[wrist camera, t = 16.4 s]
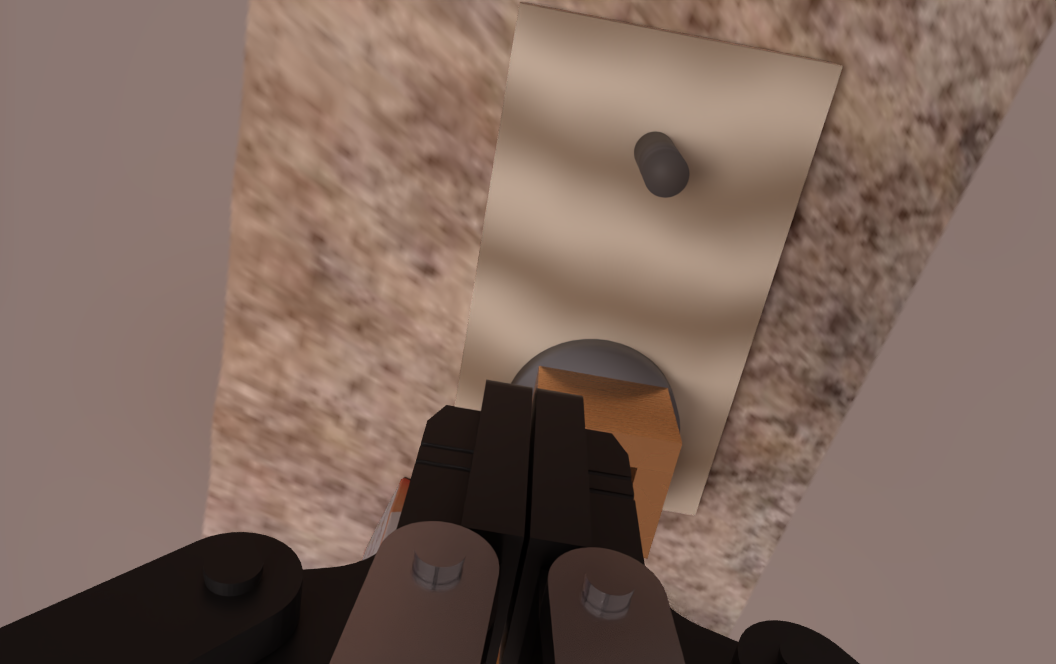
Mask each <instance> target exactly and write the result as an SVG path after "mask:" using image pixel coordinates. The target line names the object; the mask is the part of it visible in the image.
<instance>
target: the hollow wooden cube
mask: <svg viewBox="0 0 1056 664" xmlns="http://www.w3.org/2000/svg"><path fill="white" fill-rule="evenodd" d="M536 388H540V389H546V390H551V391H557V392H563V393H569V394H575V395H580V396H583V399H584V415H585V429H590V430H596V431H601V432H607V433H612V434H613V435H614V437H615V438H616V439H617V440H618V442H619V443H620V444H621V446H622V447H623V448H624V450H625V451H626V452H627V454H628V455H629V462H630V469H631V476H632V478H631V481H632V483H633V489H634V500H635V503H636V510H637V516H638V523H639V530H640V537H641V544H642V550H643V557H644V558H648V554H649V551H650V548H651V544H652V541H653V538H654V535H655V531H656V528H657V525H658V522H659V518H660V515H661V512H662V509H663V505H664V502H665V499H666V495H667V492H668V489H669V486H670V482H671V479H672V476H673V473H674V469H675V466H676V463H677V460H678V456H679V453H680V450H681V446H682V440H681V436H680V433H679V429H678V425H677V421H676V418H675V414H674V410H673V406H672V402H671V399H670V395H669V391H668V388H664V387H658V386H653V385H647V384H641V383H635V382H630V381H624V380H618V379H612V378H607V377H601V376H595V375H590V374H584V373H578V372H572V371H567V370H561V369H555V368H549V367H544V366H539V368H538V373H537V378H536V382H535V387H534V392H533V397H534V393H535V390H536ZM533 397H532V401H533Z"/></svg>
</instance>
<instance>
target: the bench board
mask: <svg viewBox="0 0 1056 664" xmlns="http://www.w3.org/2000/svg"><path fill="white" fill-rule="evenodd" d="M842 68H843V66H841V65H838V64H835V63H832V62H828V61H822V60H817V59H812V58H807V57H802V56H797V55H792V54H787V53H781V52H776V51H771V50H766V49H761V48H756V47H751V46H745V45H740V44H735V43H730V42H725V41H720V40H715V39H709V38H704V37H699V36H694V35H689V34H684V33H679V32H674V31H668V30H663V29H658V28H653V27H648V26H643V25H638V24H632V23H627V22H622V21H617V20H612V19H607V18H602V17H596V16H591V15H586V14H581V13H576V12H571V11H566V10H561V9H555V8H550V7H545V6H540V5H535V4H530V3H525V2H520V3H519V9H518V15H517V21H516V28H515V34H514V40H513V46H512V52H511V59H510V65H509V71H508V77H507V83H506V90H505V96H504V102H503V108H502V114H501V121H500V127H499V133H498V139H497V146H496V152H495V158H494V164H493V170H492V177H491V183H490V189H489V195H488V201H487V208H486V214H485V220H484V226H483V232H482V239H481V245H480V251H479V257H478V263H477V270H476V276H475V282H474V288H473V295H472V301H471V307H470V313H469V319H468V326H467V332H466V338H465V344H464V350H463V357H462V363H461V369H460V375H459V381H458V388H457V394H456V400H455V407H461V408H466V409H472V410H478V411H481V407H482V401H483V395H484V390H485V384H486V379H487V380H493V381H499V382H504V383H510V384H516V385H522V386H527V387H532V388H533V392H534V387H535V382H536V378H537V373H538V368H539V366H544V367H549V368H555V369H561V370H567V371H572V372H578V373H584V374H590V375H595V376H601V377H607V378H612V379H618V380H624V381H630V382H635V383H641V384H647V385H653V386H658V387H664V388H668V391H669V395H670V399H671V402H672V406H673V410H674V414H675V418H676V421H677V425H678V429H679V433H680V436H681V440H682V446H681V450H680V453H679V456H678V460H677V463H676V466H675V469H674V473H673V476H672V479H671V482H670V486H669V489H668V492H667V495H666V499H665V502H664V505H663V509H662V510H665V511H671V512H677V513H682V514H688V515H694V516H695V514H696V511H697V508H698V505H699V502H700V499H701V496H702V493H703V490H704V487H705V484H706V481H707V478H708V474H709V471H710V468H711V465H712V462H713V459H714V456H715V453H716V450H717V447H718V444H719V441H720V438H721V435H722V432H723V429H724V426H725V423H726V420H727V417H728V414H729V411H730V408H731V405H732V402H733V399H734V396H735V393H736V389H737V386H738V383H739V380H740V377H741V374H742V371H743V368H744V365H745V362H746V359H747V356H748V353H749V350H750V347H751V344H752V341H753V338H754V335H755V332H756V329H757V326H758V323H759V320H760V317H761V314H762V311H763V307H764V304H765V301H766V298H767V295H768V292H769V289H770V286H771V283H772V280H773V277H774V274H775V271H776V268H777V265H778V262H779V259H780V256H781V253H782V250H783V247H784V244H785V241H786V238H787V235H788V232H789V229H790V225H791V222H792V219H793V216H794V213H795V210H796V207H797V204H798V201H799V198H800V195H801V192H802V189H803V186H804V183H805V180H806V177H807V174H808V171H809V168H810V165H811V162H812V159H813V156H814V153H815V150H816V147H817V144H818V140H819V137H820V134H821V131H822V128H823V125H824V122H825V119H826V116H827V113H828V110H829V107H830V104H831V101H832V98H833V95H834V92H835V89H836V86H837V83H838V80H839V77H840V74H841V71H842ZM532 397H533V394H532Z"/></svg>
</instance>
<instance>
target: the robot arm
mask: <svg viewBox="0 0 1056 664" xmlns="http://www.w3.org/2000/svg"><path fill="white" fill-rule="evenodd" d="M532 394H533V388H532V387H527V386H522V385H516V384H510V383H504V382H499V381H493V380H487V379H486V384H485V390H484V395H483V401H482V407H481V411H478V410H472V409H466V408H461V407H455V406H449V405H446V406H445V407H443V408H442V409H441V410H440V411H439V412H437V413H436V414H435V415H434V416H433V417H431V418H430V419H429V420H428V421H427V424H426V427H425V431H424V434H423V438H422V441H421V446H420V448H419V452H418V455H417V459H416V463H415V466H414V469H413V473H412V476H411V480H410V483H409V487H408V490H407V494H406V497H405V501H404V504H403V508H402V511H401V515H400V518H399V522H398V525H397V529H396V530H395V531H393V532H392V533H391V534H389V535H388V536H387V537H386V538H385V539H384V540H383V542H382V543H381V545H380V547H379V549H378V551H377V553H376V554H375V555H373V556H371V557H369V558H367V559H365V560H362V561H359V562H357V563H353V564H349V565H345V566H339V567H331V568H319V569H306V570H303V569H302V565H301V562H300V560H299V558H298V556H297V555H296V554H295V552H294V551H293V550H292V549H291V548H290V547H288V546H287V545H286V544H284V543H283V542H281V541H279V540H277V539H275V538H272V537H269V536H266V535H262V534H257V533H248V532H231V533H224V534H218V535H214V536H210V537H207V538H204V539H201V540H199V541H196V542H194V543H192V544H190V545H187V546H185V547H183V548H181V549H178V550H176V551H174V552H172V553H169V554H167V555H165V556H162V557H160V558H158V559H156V560H153V561H151V562H149V563H146V564H144V565H142V566H140V567H137V568H135V569H133V570H131V571H128V572H126V573H124V574H121V575H119V576H117V577H115V578H112V579H110V580H108V581H106V582H103V583H101V584H99V585H97V586H94V587H92V588H90V589H87V590H85V591H83V592H81V593H78V594H76V595H74V596H72V597H69V598H67V599H65V600H62V601H60V602H58V603H56V604H53V605H51V606H49V607H47V608H44V609H42V610H40V611H38V612H35V613H33V614H31V615H29V616H26V617H24V618H22V619H19V620H17V621H15V622H13V623H10V624H8V625H6V626H4V627H1V628H0V664H496V663H497V658H498V653H499V649H500V656H499V664H859V663H858V662H857V661H856V660H855V659H853V658H852V657H851V656H850V655H849V654H847V653H846V652H845V651H844V650H843V649H841V648H840V647H839V646H838V645H836V644H835V643H834V642H832V641H831V640H830V639H828V638H826V637H825V636H823V635H821V634H820V633H817V632H816V631H814V630H812V629H809V628H807V627H804V626H801V625H799V624H795V623H791V622H786V621H778V620H773V621H763V622H759V623H756V624H754V625H752V626H750V627H749V628H747V629H746V630H745V631H744V633H743V634H742V635H741V637H740V640H739V642H737V641H734V640H732V639H730V638H727V637H725V636H723V635H720V634H718V633H715V632H713V631H711V630H708V629H706V628H703V627H701V626H699V625H697V624H695V623H693V622H691V621H689V620H687V619H686V618H684V617H682V616H681V615H679V614H678V613H677V612H675V611H674V610H673V609H671V608H670V606H669V602H668V599H667V595H666V592H665V590H664V587H663V586H662V584H661V582H660V581H659V579H658V578H657V577H656V576H655V575H654V573H653V572H651V571H650V570H649V569H648V568H647V567H646V566H645V564H644V557H643V550H642V544H641V537H640V530H639V523H638V516H637V510H636V503H635V500H634V489H633V483H632V481H631V478H632V476H631V469H630V462H629V455H628V454H627V452H626V451H625V450H624V448H623V447H622V446H621V444H620V443H619V442H618V440H617V439H616V438H615V437H614V435H613V434H612V433H607V432H601V431H596V430H590V429H585V415H584V399H583V396H580V395H575V394H569V393H563V392H557V391H551V390H546V389H540V388H536V390H535V393H534V397H533V401H532Z"/></svg>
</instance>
